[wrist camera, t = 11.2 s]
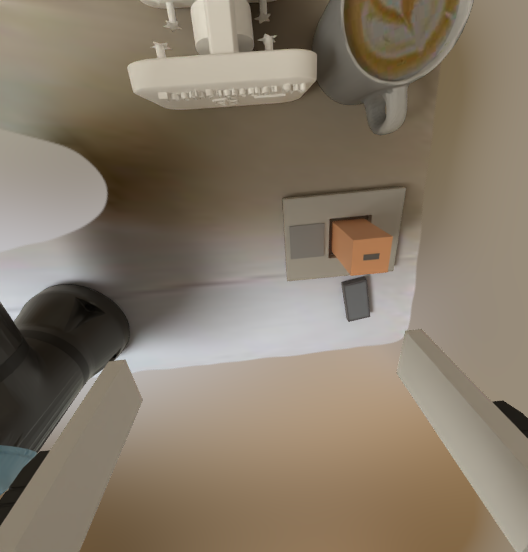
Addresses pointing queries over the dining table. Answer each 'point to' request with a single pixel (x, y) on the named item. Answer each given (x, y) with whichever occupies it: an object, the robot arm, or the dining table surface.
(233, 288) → the dining table surface
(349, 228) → the block
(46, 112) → the dining table surface
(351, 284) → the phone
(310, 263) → the outlet plate
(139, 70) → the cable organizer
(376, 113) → the coffee mug
